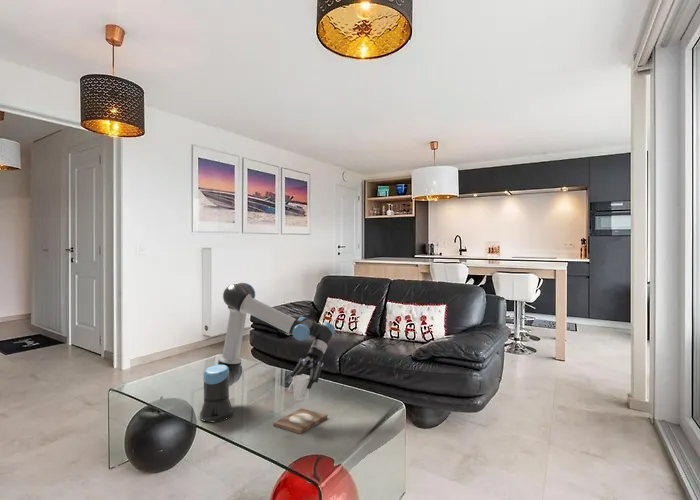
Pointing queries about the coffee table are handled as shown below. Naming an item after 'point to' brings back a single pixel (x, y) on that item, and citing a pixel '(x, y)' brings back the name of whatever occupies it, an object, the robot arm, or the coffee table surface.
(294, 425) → the serving board
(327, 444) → the coffee table surface
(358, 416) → the coffee table surface
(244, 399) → the coffee table surface
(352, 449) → the coffee table surface
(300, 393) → the white cup
